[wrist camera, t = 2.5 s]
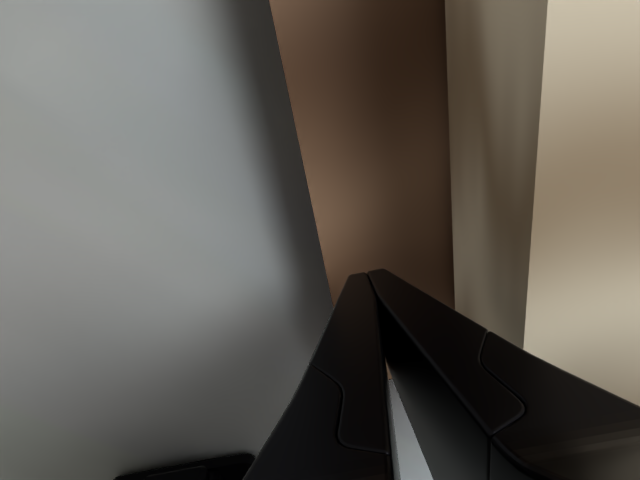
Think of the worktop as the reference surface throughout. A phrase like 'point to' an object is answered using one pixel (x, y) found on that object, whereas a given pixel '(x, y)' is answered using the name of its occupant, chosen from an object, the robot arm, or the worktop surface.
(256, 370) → the worktop surface
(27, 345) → the worktop surface
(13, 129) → the worktop surface
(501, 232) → the leg
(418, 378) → the robot arm
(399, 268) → the seat board
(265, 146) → the worktop surface
